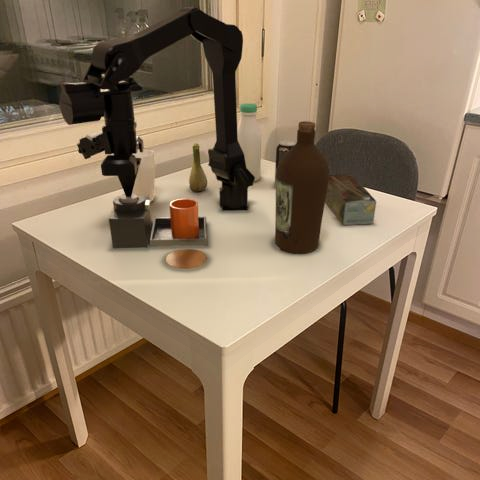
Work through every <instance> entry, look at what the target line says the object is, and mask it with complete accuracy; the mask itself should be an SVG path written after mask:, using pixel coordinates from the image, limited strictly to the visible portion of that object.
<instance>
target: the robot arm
mask: <svg viewBox="0 0 480 480" xmlns="http://www.w3.org/2000/svg"><path fill="white" fill-rule="evenodd" d="M189 36H190V37H192V38H193V39H194V40H196V41H197V42H199V43H200V44H202V48H203V52H204V57H205V60H206V62H207V64H208V66H209V69H210V70H211V74H212V87H213V105H214V121H215V139H216V140H215V143H214V146H213V148H208V149H207V155H208V164H207V165H208V166H209V167H210V170H211V173H213V174H214V175H215V178H216V180H217V181H218V182H221V186H220V187H219V188H218V189H219V192H218V193H219V207H220V208H221V210H222V211H223V212H241V211H242V212H244V211H245V212H246V211H249V206H248V196H249V193H248V191H249V188H250V187H252V186H254V183H255V181H254V179H255V177H254V176H253V174H252V173H251V172H250V171H249V170H248V169H247V168H246V162H245V156H244V153H243V151H242V148H241V146H240V144H239V142H238V134H237V126H238V109H237V108H238V106H237V105H238V104H237V79H236V75H237V73H236V72H237V70H238V67H239V65H240V63H241V61H242V57H243V48H244V47H243V46H244V35H243V32H242V30H241V29H240V28H239V27H238V26H237V25H235V24H229V23H226V22H223V21H221V20H220V19H218V18H216V17H214V16H211V15H209V14H207V13H206V12H205V11H203V10H202V9H200V8H199V7H194V6H193V7H192V6H183V7H181V8H180V9H179V10H178V11H176V12H174V13H172V14H171V15H169V16H167V17H165V18H164V19H163V18H162V19H161V20H159V21H157V22H155V23H154V24H152V25H150V26H147V27H146V28H144V29H142V30H140V31H138V32H136V33H134V34H132V35H129V36H123V37H118V38H117V37H116V38H113V39H109V40H105V41H101V42H98V43H97V44H96V45H94V46H93V48H92V53H91V62H90V64H89V66H88V68H87V70H86V72H85V74H84V77H83V78H82V82H61V83H60V87H61V91H60V93H59V101H58V104H59V105H58V106H59V109H60V112H61V115H62V118H63V120H64V122H65V123H66V124H67V125H69V126H73V125H80V124H87V123H95V122H100V121H101V119H102V118H103V120H104V124H103V126H101V130H99V131H96V132H93V133H91V134H87V135H85V136H84V137H83V136H81V137H80V138H79V140H78V142H77V143H76V147H77V148H78V150H77V152H78V154H81V155H82V156H83V158H84V160H88V159H90V158H91V157H93V156H95V155H98V154H100V153H104V154H105V155H106V156H105V158H104V159H103V160H102V162H101V164H100V170H101V175H102V176H103V177H117V178H118V180H119V182H120V185H121V188H122V191H123V194H125V195H126V197H131V195H132V192H133V188H134V184H135V181H136V177H137V173H138V170H139V166H140V162H141V158H135V156H134V155H133V154H137V151H138V149H139V150H140V152H143V150H144V148H145V146H144V139H142V138H141V136H139V135H137V126H138V124H137V123H138V122H137V120H136V119H135V110H134V101H133V99H134V98H133V92H142V91H143V87H142V86H141V85H140V84H139V83H138V82H137V81H136V80H135V78H134V77H132V76H133V75H134V74H136V72H138V71H139V70H140V69H141V68H142V66H143V65H144V63H145V62H146V61H147V60H148V59H149V58H150V57H152V56H154V55H156V54H158V53H160V52H161V51H164V50H165V49H167V48H169V47H171V46H173V45H174V44H176V43H178V42H179V41H182V40H183V39H185V38H187V37H189Z"/></svg>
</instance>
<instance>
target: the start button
mask: <svg viewBox="0 0 480 480" xmlns="http://www.w3.org/2000/svg"><path fill="white" fill-rule="evenodd" d="M120 195H121V196H120ZM120 195H119V196H120V202H122V203H134V202H137V201H138V198H137V195H136V194H132V195H131V197H126V195H125V193H123V194H120Z"/></svg>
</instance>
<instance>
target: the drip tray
mask: <svg viewBox="0 0 480 480" xmlns="http://www.w3.org/2000/svg"><path fill="white" fill-rule="evenodd" d="M152 219H153V220H152V224H151V229H150V234H149V247H150V248H153V247H155V248H157V247H202V246H204V247H206V246H208V235H207V234H208V233H207V232H208V231H207V216H198V220H199V235H198V236H197V237H195V238H179V239H177V238H174V237H173V236H172V232H171V218H170V216H169V217H167V216H165V217H163V216H162V217H153V218H152Z"/></svg>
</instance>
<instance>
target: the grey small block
mask: <svg viewBox="0 0 480 480" xmlns="http://www.w3.org/2000/svg"><path fill="white" fill-rule="evenodd" d="M145 209H147V211H148V212H149V211H150V212H151V202H150V200H146V203H145Z"/></svg>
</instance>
